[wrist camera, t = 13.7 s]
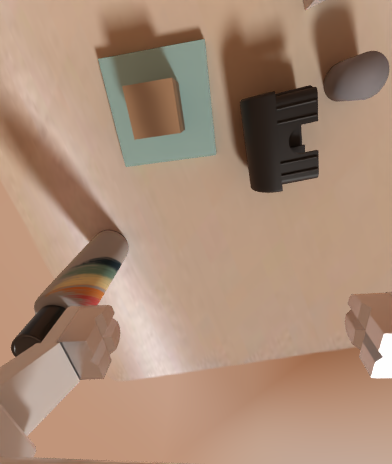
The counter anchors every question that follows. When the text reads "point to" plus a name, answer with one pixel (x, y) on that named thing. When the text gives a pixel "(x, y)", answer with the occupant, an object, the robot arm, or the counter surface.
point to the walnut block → (154, 108)
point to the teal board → (191, 92)
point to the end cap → (279, 137)
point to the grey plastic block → (311, 3)
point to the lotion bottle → (75, 286)
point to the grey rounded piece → (357, 77)
